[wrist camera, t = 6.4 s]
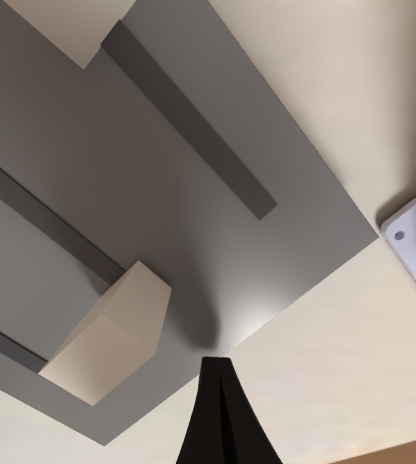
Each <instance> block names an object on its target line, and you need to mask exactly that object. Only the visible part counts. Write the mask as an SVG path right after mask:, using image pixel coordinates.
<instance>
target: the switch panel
mask: <svg viewBox="0 0 416 464" xmlns="http://www.w3.org/2000/svg"><path fill="white" fill-rule="evenodd" d="M377 238H379V236H378V235H377V233H376V232H375V231H374V229H373V228H372V226H371V225H370V224H369V222H368V221H367V220H366V218H365V217H364V215H363V214H362V213H361V211H360V210H359V209H358V207H357V206H356V204H355V203H354V202H353V200H352V199H351V198H350V196H349V195H348V193H347V192H346V191H345V189H344V188H343V187H342V185H341V184H340V182H339V181H338V180H337V178H336V177H335V175H334V174H333V173H332V171H331V170H330V169H329V167H328V166H327V164H326V163H325V162H324V160H323V159H322V158H321V156H320V155H319V153H318V152H317V151H316V149H315V148H314V147H313V145H312V144H311V142H310V141H309V140H308V138H307V137H306V136H305V134H304V133H303V131H302V130H301V129H300V127H299V126H298V125H297V123H296V122H295V120H294V119H293V118H292V116H291V115H290V114H289V112H288V111H287V109H286V108H285V107H284V105H283V104H282V102H281V101H280V100H279V98H278V97H277V96H276V94H275V93H274V91H273V90H272V89H271V87H270V86H269V85H268V83H267V82H266V80H265V79H264V78H263V76H262V75H261V74H260V72H259V71H258V69H257V68H256V67H255V65H254V64H253V63H252V61H251V60H250V58H249V57H248V56H247V54H246V53H245V52H244V50H243V49H242V47H241V46H240V45H239V43H238V42H237V41H236V39H235V38H234V36H233V35H232V34H231V32H230V31H229V29H228V28H227V27H226V25H225V24H224V23H223V21H222V20H221V18H220V17H219V16H218V14H217V13H216V12H215V10H214V9H213V7H212V6H211V5H210V3H209V2H208V1H207V0H0V390H1V391H3V392H5V393H7V394H9V395H11V396H12V397H14V398H16V399H18V400H20V401H22V402H24V403H25V404H27V405H29V406H31V407H33V408H35V409H37V410H38V411H40V412H42V413H44V414H46V415H48V416H49V417H51V418H53V419H55V420H57V421H59V422H61V423H62V424H64V425H66V426H68V427H70V428H72V429H73V430H75V431H77V432H79V433H81V434H83V435H85V436H86V437H88V438H90V439H92V440H94V441H96V442H97V443H99V444H101V445H103V446H105V445H107V444H108V443H109V442H111V441H112V440H113V439H115V438H116V437H117V436H119V435H120V434H121V433H122V432H124V431H125V430H126V429H128V428H129V427H130V426H132V425H133V424H134V423H136V422H137V421H138V420H140V419H141V418H142V417H143V416H145V415H146V414H147V413H149V412H150V411H151V410H153V409H154V408H155V407H157V406H158V405H159V404H161V403H162V402H163V401H164V400H166V399H167V398H168V397H170V396H171V395H172V394H174V393H175V392H176V391H178V390H179V389H180V388H182V387H183V386H184V385H186V384H187V383H188V382H189V381H191V380H192V379H193V378H195V377H196V376H197V375H199V374H200V368H201V361H202V358H203V357H204V356H209V357H222V356H224V355H225V354H226V353H228V352H229V351H230V350H231V349H233V348H234V347H235V346H237V345H238V344H239V343H241V342H242V341H243V340H245V339H246V338H247V337H249V336H250V335H251V334H252V333H254V332H255V331H256V330H258V329H259V328H260V327H262V326H263V325H264V324H266V323H267V322H268V321H270V320H271V319H272V318H273V317H275V316H276V315H277V314H279V313H280V312H281V311H283V310H284V309H285V308H287V307H288V306H289V305H291V304H292V303H293V302H294V301H296V300H297V299H298V298H300V297H301V296H302V295H304V294H305V293H306V292H308V291H309V290H310V289H312V288H313V287H314V286H315V285H317V284H318V283H319V282H321V281H322V280H323V279H325V278H326V277H327V276H329V275H330V274H331V273H333V272H334V271H335V270H336V269H338V268H339V267H340V266H342V265H343V264H344V263H346V262H347V261H348V260H350V259H351V258H352V257H354V256H355V255H356V254H358V253H359V252H360V251H361V250H363V249H364V248H365V247H367V246H368V245H369V244H371V243H372V242H373V241H375V240H376V239H377ZM138 260H139V261H140V262H141V263H143V264H144V265H145V266H146V267H147V268H148V269H150V270H151V271H152V272H153V273H154V274H156V275H157V276H158V277H159V278H160V279H161V280H163V281H164V282H165V283H166V284H167V285H169V286H170V287H171V288H172V290H171V294H170V298H169V302H168V306H167V310H166V314H165V318H164V322H163V326H162V330H161V335H160V339H159V343H158V347H157V351H156V354H155V355H154V356H153V357H151V358H150V359H149V360H148V361H147V362H145V363H144V364H143V365H142V366H141V367H139V368H138V369H137V370H136V371H135V372H133V373H132V374H131V375H130V376H129V377H127V378H126V379H125V380H124V381H123V382H121V383H120V384H119V385H118V386H117V387H115V388H114V389H113V390H112V391H110V392H109V393H108V394H107V395H106V396H104V397H103V398H102V399H101V400H100V401H98V402H97V403H96V404H95V405H94V406H92V405H90V404H88V403H87V402H85V401H83V400H82V399H80V398H78V397H76V396H75V395H73V394H71V393H70V392H68V391H66V390H65V389H63V388H61V387H60V386H58V385H56V384H54V383H53V382H51V381H49V380H48V379H46V378H44V377H43V376H41V375H39V374H38V373H39V372H40V371H41V369H42V368H43V367H44V366H45V364H46V363H47V362H48V361H49V359H50V358H51V357H52V356H53V355H54V353H55V352H56V351H57V350H58V348H59V347H60V346H61V345H62V343H63V342H64V341H65V340H66V338H67V337H68V336H69V335H70V333H71V332H72V331H73V330H74V328H75V327H76V326H77V325H78V323H79V322H80V321H81V320H82V318H83V317H84V316H85V315H86V313H87V312H88V311H89V310H90V308H91V307H92V306H93V305H94V303H95V302H96V301H97V300H98V299H99V298H100V297H101V296H102V295H103V294H104V293H105V292H106V291H107V290H108V289H109V288H110V287H111V286H113V285H114V284H115V283H116V282H117V281H118V280H119V279H120V278H121V277H122V276H123V275H124V274H125V273H126V272H127V271H128V270H129V269H130V268H131V267H132V266H133V265H134V264H135V263H136V262H137V261H138Z"/></svg>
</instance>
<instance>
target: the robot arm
mask: <svg viewBox="0 0 416 464" xmlns="http://www.w3.org/2000/svg"><path fill="white" fill-rule="evenodd" d="M380 231H381V234H382V235H383V236H384V238H385V239H386V241H387V242H388V243H389V245H390V246H391V247H392V249H393V250H394V252H395V253H396V254H397V256H398V257H399V259H400V260H401V261H402V263H403V264H404V266H405V267H406V268H407V270H408V271H409V273H410V274H411V275H412V277H413V278H414V280H415V281H416V197H415V198H414V199H413V200H412V201H410V202H409V203H408V204H406V205H405V206H404V207H403V208H401V209H400V210H399V211H397V212H396V213H395V214H394V215H392V216H391V217H390V218H388V219H387V220H386V221H385V222H384V223H383V224H382V226H381V229H380ZM397 232H398V233H397ZM396 233H397V235H396V236H395V234H396ZM176 464H283V463H282V462H281V460H280V458H279V457H278V455H277V453H276V452H275V450H274V448H273V446H272V445H271V443H270V441H269V439H268V438H267V436H266V434H265V432H264V430H263V429H262V427H261V425H260V423H259V421H258V419H257V417H256V415H255V413H254V412H253V409H252V407H251V405H250V403H249V401H248V399H247V397H246V395H245V393H244V391H243V389H242V386H241V384H240V382H239V379H238V377H237V375H236V372H235V370H234V367H233V364H232V361H231V359H230V358H227V357H209V356H204V357H203V358H202V361H201V368H200V376H199V383H198V392H197V396H196V401H195V405H194V409H193V412H192V415H191V419H190V422H189V426H188V429H187V432H186V435H185V438H184V442H183V444H182V447H181V450H180V453H179V456H178V459H177V462H176Z"/></svg>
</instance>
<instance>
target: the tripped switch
mask: <svg viewBox="0 0 416 464" xmlns="http://www.w3.org/2000/svg"><path fill="white" fill-rule="evenodd" d="M171 290H172V288H171V287H170V286H169V285H167V284H166V283H165V282H164V281H163V280H161V279H160V278H159V277H158V276H157V275H156V274H154V273H153V272H152V271H151V270H150V269H148V268H147V267H146V266H145V265H144V264H143V263H141V262H140V261H139V260H138V261H137V262H136V263H135V264H134V265H133V266H132V267H131V268H130V269H129V270H128V271H127V272H126V273H125V274H124V275H123V276H122V277H121V278H120V279H119V280H118V281H117V282H116V283H115V284H114V285H113V286H111V287H110V288H109V289H108V290H107V291H106V292H105V293H104V294H103V295H102V296H101V297H100V298H99V299H98V300H97V301H96V302H95V303H94V305H93V306H92V307H91V308H90V310H89V311H88V312H87V313H86V315H85V316H84V317H83V318H82V320H81V321H80V322H79V323H78V325H77V326H76V327H75V328H74V330H73V331H72V332H71V333H70V335H69V336H68V337H67V338H66V340H65V341H64V342H63V343H62V345H61V346H60V347H59V348H58V350H57V351H56V352H55V353H54V355H53V356H52V357H51V358H50V359H49V361H48V362H47V363H46V364H45V366H44V367H43V368H42V369H41V371H40V372H39V373H38V374H39V375H41V376H43V377H44V378H46V379H48V380H49V381H51V382H53V383H54V384H56V385H58V386H60V387H61V388H63V389H65V390H66V391H68V392H70V393H71V394H73V395H75V396H76V397H78V398H80V399H82V400H83V401H85V402H87V403H88V404H90V405H92V406H94V405H95V404H96V403H97V402H98V401H100V400H101V399H102V398H103V397H104V396H106V395H107V394H108V393H109V392H110V391H112V390H113V389H114V388H115V387H117V386H118V385H119V384H120V383H121V382H123V381H124V380H125V379H126V378H127V377H129V376H130V375H131V374H132V373H133V372H135V371H136V370H137V369H138V368H139V367H141V366H142V365H143V364H144V363H145V362H147V361H148V360H149V359H150V358H151V357H153V356H154V355H155V354H156V351H157V347H158V343H159V339H160V335H161V330H162V326H163V322H164V318H165V314H166V310H167V306H168V302H169V298H170V294H171Z"/></svg>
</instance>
